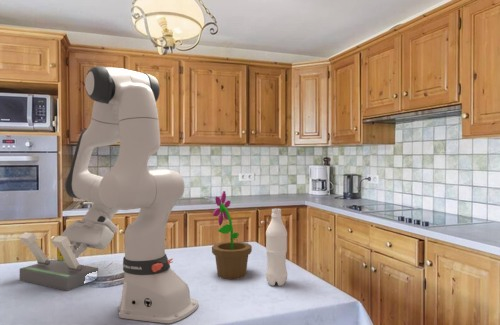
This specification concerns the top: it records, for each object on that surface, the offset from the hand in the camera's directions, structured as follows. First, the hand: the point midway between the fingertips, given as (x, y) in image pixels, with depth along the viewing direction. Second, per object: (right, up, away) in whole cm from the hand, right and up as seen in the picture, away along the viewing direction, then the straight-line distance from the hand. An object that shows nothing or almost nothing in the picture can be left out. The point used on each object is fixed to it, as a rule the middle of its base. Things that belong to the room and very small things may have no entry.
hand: (72, 256), depth 120 cm
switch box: (-7, -9, +4) cm, 12 cm away
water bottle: (+68, -9, 0) cm, 69 cm away
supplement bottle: (-16, -9, +26) cm, 32 cm away
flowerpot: (+53, -9, +9) cm, 55 cm away
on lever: (-14, -4, +8) cm, 16 cm away
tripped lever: (0, -4, +1) cm, 4 cm away
